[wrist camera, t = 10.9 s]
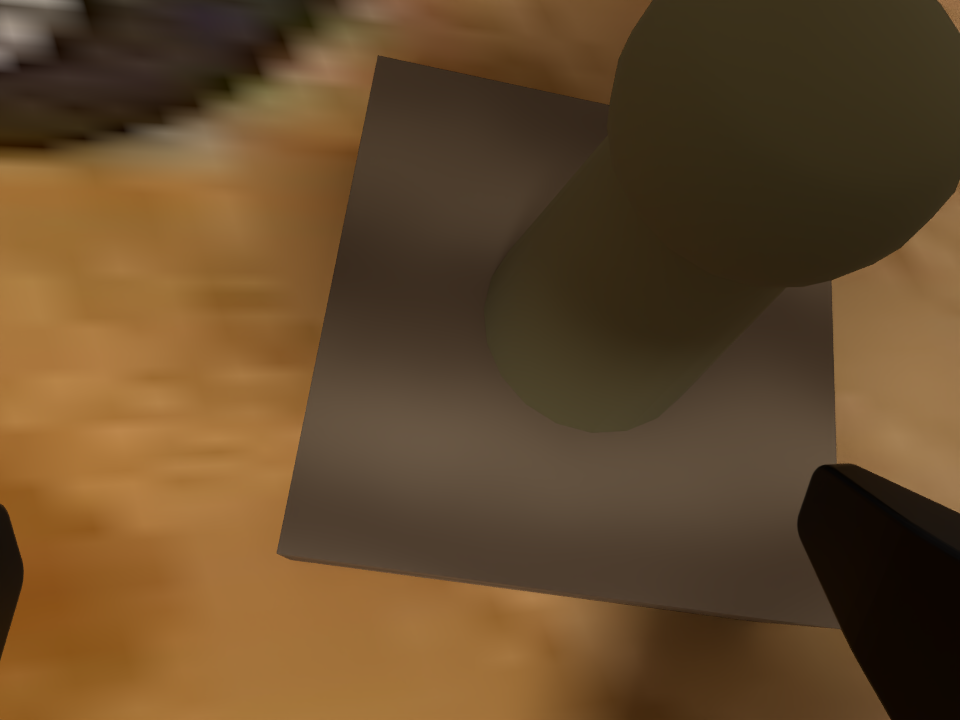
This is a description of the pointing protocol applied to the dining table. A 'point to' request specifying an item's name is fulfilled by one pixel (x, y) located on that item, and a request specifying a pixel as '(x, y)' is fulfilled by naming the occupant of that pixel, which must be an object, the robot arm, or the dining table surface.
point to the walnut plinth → (516, 426)
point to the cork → (725, 193)
